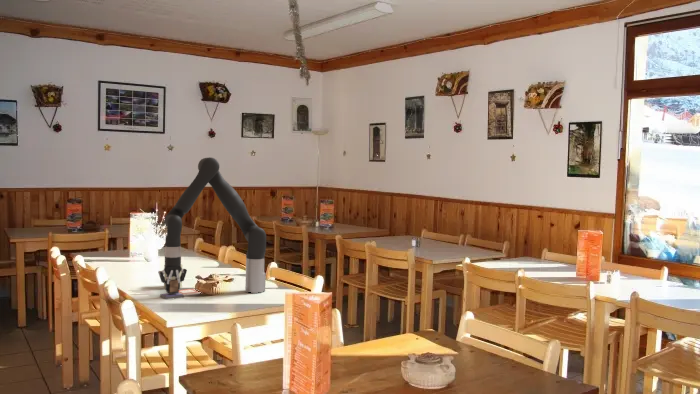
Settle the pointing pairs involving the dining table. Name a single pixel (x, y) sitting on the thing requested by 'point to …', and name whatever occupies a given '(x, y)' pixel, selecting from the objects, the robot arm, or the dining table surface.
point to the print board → (189, 291)
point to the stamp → (173, 286)
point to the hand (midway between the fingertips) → (172, 290)
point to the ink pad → (171, 295)
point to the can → (173, 277)
